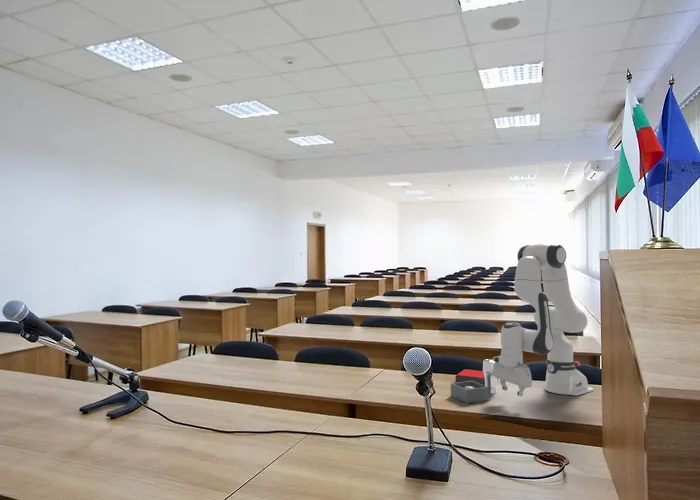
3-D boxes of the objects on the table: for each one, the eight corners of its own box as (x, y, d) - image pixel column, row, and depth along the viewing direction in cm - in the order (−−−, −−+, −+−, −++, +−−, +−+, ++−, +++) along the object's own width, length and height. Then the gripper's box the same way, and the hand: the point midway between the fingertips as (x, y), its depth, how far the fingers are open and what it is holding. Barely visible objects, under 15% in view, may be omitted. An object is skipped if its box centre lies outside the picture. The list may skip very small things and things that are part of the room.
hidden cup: (470, 395, 218) (470, 385, 219) (475, 397, 215) (475, 387, 215) (463, 396, 217) (463, 386, 217) (468, 398, 213) (468, 388, 213)
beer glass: (499, 395, 221) (498, 362, 221) (483, 394, 222) (483, 362, 223) (497, 391, 228) (497, 359, 228) (482, 390, 229) (482, 359, 230)
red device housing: (498, 382, 245) (498, 373, 245) (491, 389, 232) (491, 379, 232) (463, 378, 254) (463, 369, 254) (455, 384, 241) (455, 374, 241)
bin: (472, 393, 224) (472, 380, 224) (488, 400, 213) (488, 387, 213) (450, 396, 219) (450, 383, 219) (466, 403, 208) (466, 389, 208)
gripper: (535, 364, 197) (535, 398, 197) (501, 355, 216) (502, 386, 216) (523, 366, 194) (523, 400, 194) (490, 356, 213) (491, 387, 213)
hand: (512, 392), depth 205 cm, fingers open, 8 cm apart
